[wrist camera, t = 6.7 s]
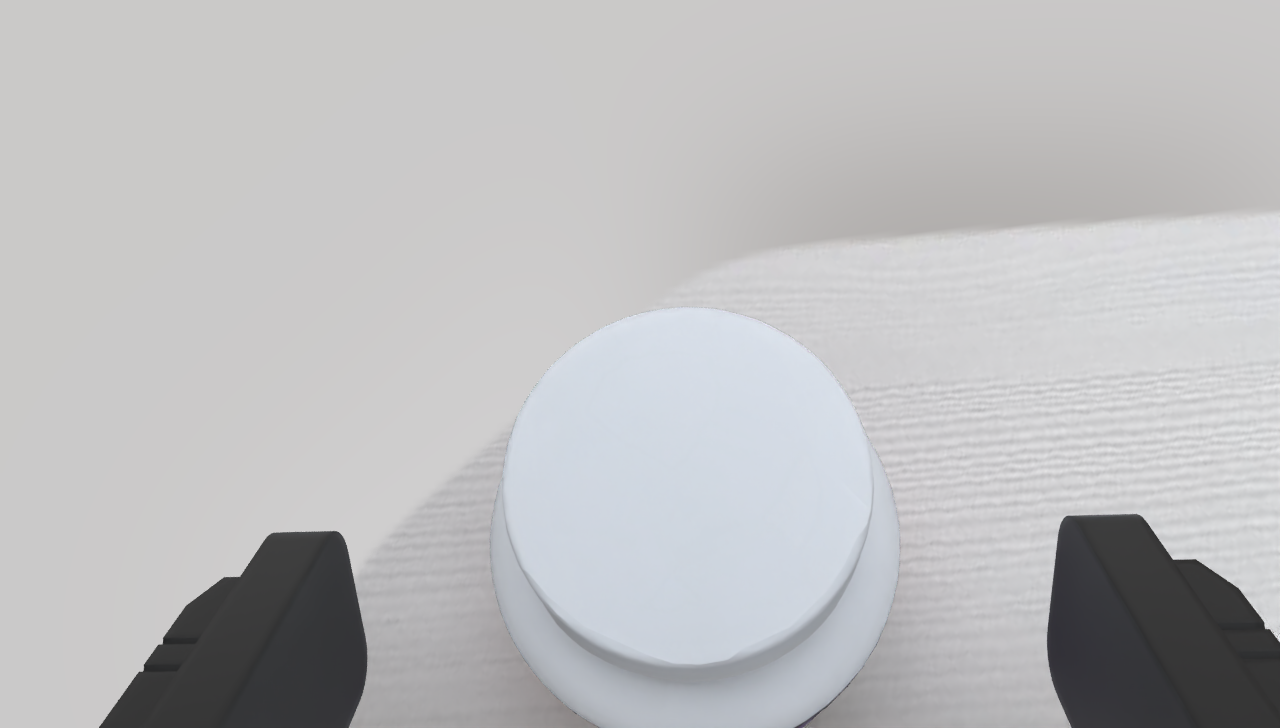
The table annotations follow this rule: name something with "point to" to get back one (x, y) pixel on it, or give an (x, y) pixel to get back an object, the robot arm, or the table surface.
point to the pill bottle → (693, 527)
